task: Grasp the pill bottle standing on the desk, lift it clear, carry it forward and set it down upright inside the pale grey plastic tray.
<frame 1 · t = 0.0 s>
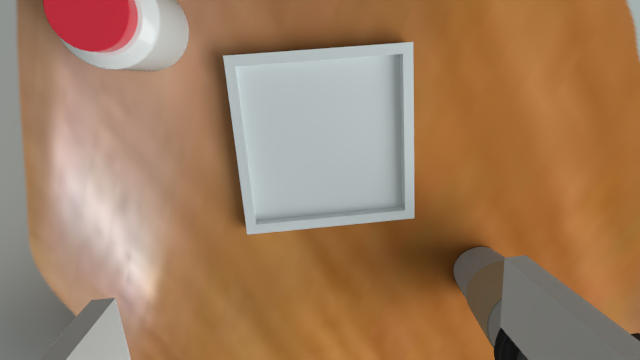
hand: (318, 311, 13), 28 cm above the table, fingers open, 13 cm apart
pill bottle: (148, 29, 36), on the table
coffee cup: (475, 268, 45), on the table
tray: (324, 140, 40), on the table
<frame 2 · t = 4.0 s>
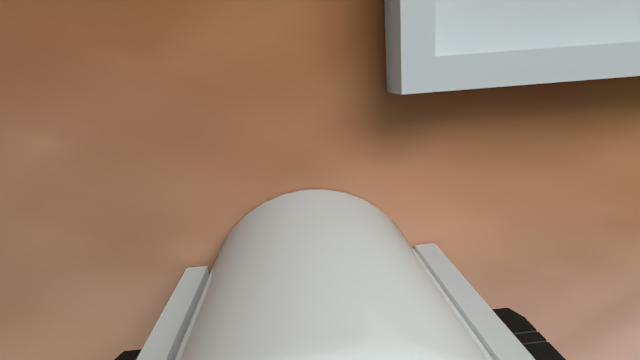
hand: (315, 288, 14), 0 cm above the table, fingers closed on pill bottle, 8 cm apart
pill bottle: (315, 281, 15), on the table, touching gripper
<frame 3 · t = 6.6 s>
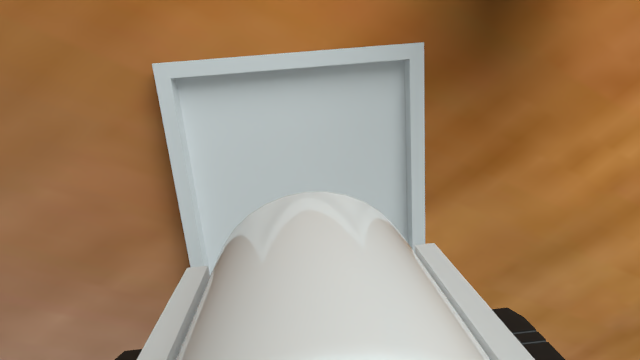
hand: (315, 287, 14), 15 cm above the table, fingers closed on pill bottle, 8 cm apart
pill bottle: (315, 283, 15), point 15 cm above the table, touching gripper
tray: (302, 177, 29), on the table
when the fingers open (3 cm above the table, at t = 9.7 s): pill bottle drops 2 cm, resting on tray.
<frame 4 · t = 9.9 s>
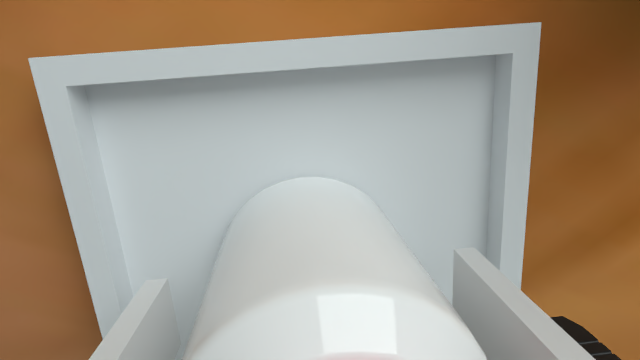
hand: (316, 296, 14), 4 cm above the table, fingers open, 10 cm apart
pill bottle: (309, 257, 17), point 1 cm above the table, touching tray
tray: (311, 250, 17), on the table
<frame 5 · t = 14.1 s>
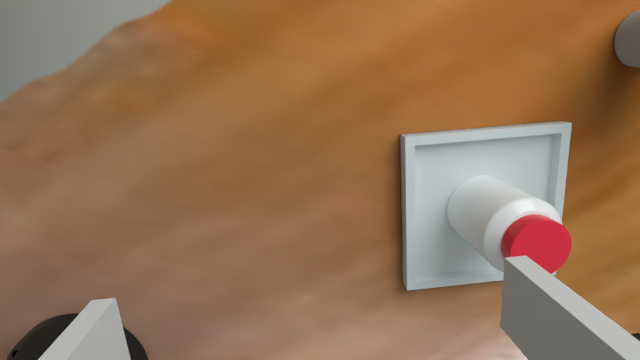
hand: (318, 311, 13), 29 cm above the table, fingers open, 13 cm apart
pill bottle: (478, 207, 43), resting on tray
coffee cup: (638, 39, 40), on the table
tray: (478, 205, 44), on the table
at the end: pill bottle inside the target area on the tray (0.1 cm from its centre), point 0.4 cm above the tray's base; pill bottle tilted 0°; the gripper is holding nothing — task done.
